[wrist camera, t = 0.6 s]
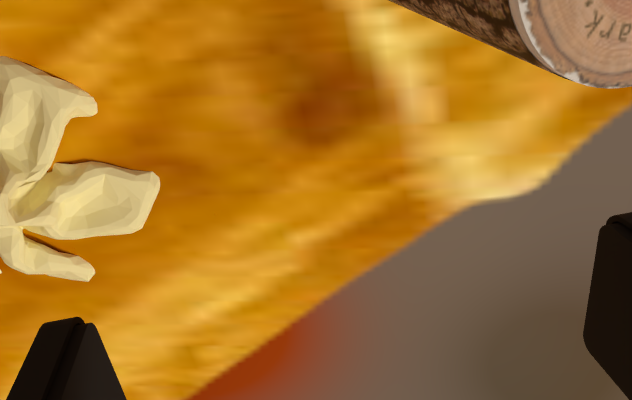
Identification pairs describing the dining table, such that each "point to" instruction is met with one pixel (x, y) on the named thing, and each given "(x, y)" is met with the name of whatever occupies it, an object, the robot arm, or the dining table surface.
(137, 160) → the dining table surface
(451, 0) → the bark textured cylinder
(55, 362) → the robot arm
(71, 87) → the cloth
